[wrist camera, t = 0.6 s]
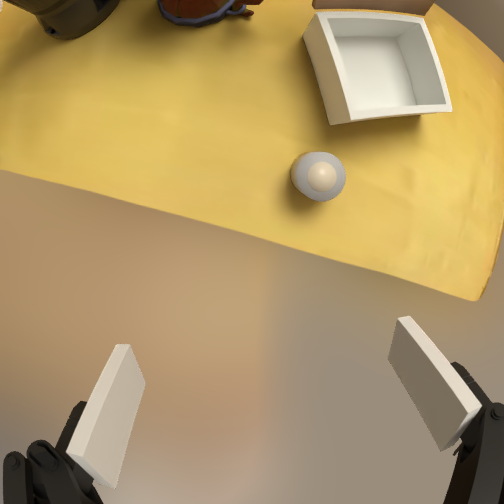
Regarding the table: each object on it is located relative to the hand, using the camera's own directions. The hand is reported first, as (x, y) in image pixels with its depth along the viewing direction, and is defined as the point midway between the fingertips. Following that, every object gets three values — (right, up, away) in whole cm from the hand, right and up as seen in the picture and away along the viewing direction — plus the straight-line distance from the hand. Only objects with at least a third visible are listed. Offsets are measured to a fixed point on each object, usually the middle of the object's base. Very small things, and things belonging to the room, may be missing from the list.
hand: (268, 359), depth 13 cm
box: (+16, +30, +19) cm, 39 cm away
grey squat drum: (+7, +16, +24) cm, 30 cm away
